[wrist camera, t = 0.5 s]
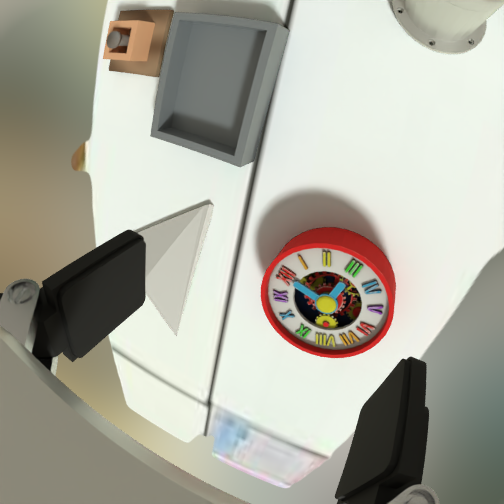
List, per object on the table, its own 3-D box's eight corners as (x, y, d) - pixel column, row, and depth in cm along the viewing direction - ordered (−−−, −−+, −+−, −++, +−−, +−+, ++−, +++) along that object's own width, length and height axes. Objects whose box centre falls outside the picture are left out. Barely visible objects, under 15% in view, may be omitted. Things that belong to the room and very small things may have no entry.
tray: (192, 17, 38) (174, 12, 35) (289, 30, 34) (278, 23, 31) (168, 132, 49) (150, 136, 45) (253, 161, 45) (240, 167, 42)
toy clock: (341, 375, 49) (241, 312, 52) (348, 352, 54) (255, 293, 56) (423, 297, 37) (298, 214, 40) (421, 276, 42) (310, 200, 45)
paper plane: (266, 259, 52) (255, 271, 49) (185, 327, 69) (174, 338, 66) (164, 150, 52) (148, 155, 48) (111, 243, 68) (98, 250, 65)
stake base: (124, 11, 41) (97, 8, 36) (173, 10, 38) (146, 4, 33) (112, 70, 48) (85, 71, 42) (159, 76, 45) (131, 77, 40)
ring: (126, 22, 41) (110, 21, 38) (155, 23, 40) (138, 20, 36) (119, 58, 45) (102, 58, 42) (146, 61, 43) (130, 61, 40)
